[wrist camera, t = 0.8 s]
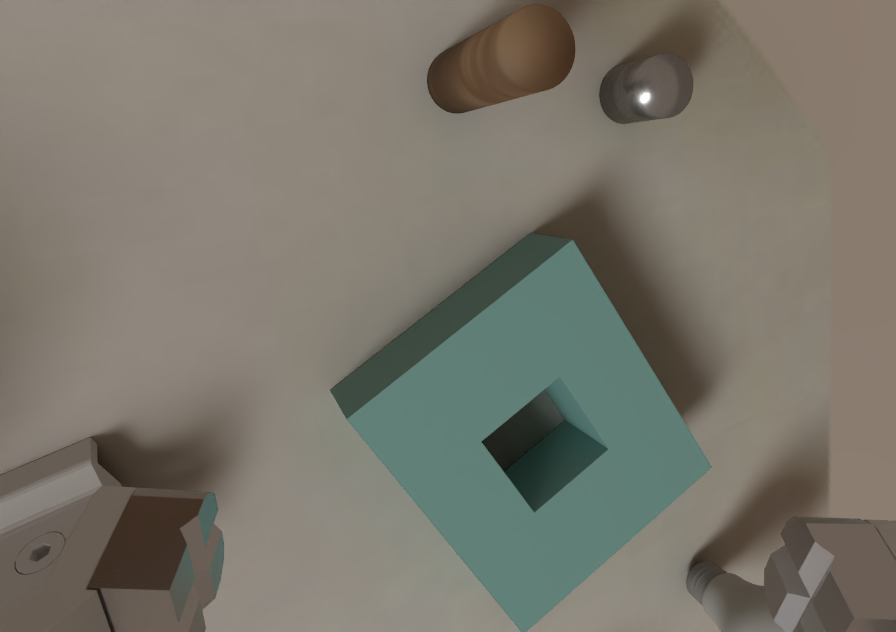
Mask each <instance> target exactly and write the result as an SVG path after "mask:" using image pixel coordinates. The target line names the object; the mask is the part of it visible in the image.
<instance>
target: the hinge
mask: <svg viewBox="0 0 896 632" xmlns="http://www.w3.org/2000/svg"><path fill="white" fill-rule="evenodd" d="M101 486H118V487H121V486H122V484H121V483H119V482H118V481H117V480H116V479H115V478H114V477H113V476H112V475H111V474H109V473H108V472H107V471H106V470H105V469H104V468H103V467H102V466H101V465H99V464H98V462H97V444H96V443H95V441H94V440H93V439H92V438H91V437H90V438H88V439H85V440H83V441H80V442H78V443H76V444H73V445H71V446H69V447H66V448H64V449H61V450H59V451H57V452H54V453H52V454H50V455H47V456H45V457H43V458H40V459H38V460H35V461H33V462H31V463H28V464H26V465H24V466H21V467H19V468H16V469H14V470H12V471H9V472H7V473H5V474H2V475H0V609H1V608H2V607H4V606H5V605H6V604H8V603H9V602H11V601H12V600H13V599H15V598H16V597H18V596H19V595H20V594H22V593H23V592H24V591H26V590H27V589H29V588H30V587H37V588H42V586H43V584H44V582H45V580H46V578H47V577H48V575H49V573H50V571H51V569H52V567H53V566H54V564H55V562H56V560H57V558H58V557H59V555H60V553H61V551H62V549H63V547H64V546H65V544H66V542H67V540H68V538H69V536H70V535H71V533H72V531H73V529H74V527H75V525H76V524H77V522H78V520H79V518H80V516H81V514H82V513H83V511H84V509H85V507H86V505H87V504H88V502H89V500H90V498H91V496H92V495H93V494H94V493H95V492H96V491H97V490H98V489H99V488H100V487H101Z"/></svg>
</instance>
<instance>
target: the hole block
mask: <svg viewBox="0 0 896 632" xmlns="http://www.w3.org/2000/svg"><path fill="white" fill-rule="evenodd" d="M543 390H545V391H546V393H547V394H548V395H549V397H550V398H551V400H552V401H553V403H554V404H555V406H556V407H557V409H558V410H559V412H560V413H561V414H562V416H563V417H564V419H565V421H564V422H562V423H561V424H560V425H559V426H558V427H556V428H555V429H554V430H553V431H552V432H551V433H549V434H548V435H547V436H546V437H545V438H543V439H542V440H541V441H540V442H539V443H537V444H536V445H535V446H534V447H533V448H531V449H530V450H529V451H528V452H527V453H526V454H524V455H523V456H522V457H521V458H520V459H518V460H517V461H516V462H515V463H514V464H512V465H511V466H510V467H509V468H508V469H506V470H505V471H503V470H502V469H501V467H500V466H499V465H498V463H497V462H496V461H495V459H494V458H493V457H492V455H491V454H490V453H489V451H488V450H487V449H486V447H485V446H484V445H483V443H482V441H483V440H484V439H485V438H486V437H488V436H489V435H490V434H491V433H492V432H494V431H495V430H496V429H497V428H498V427H500V426H501V425H502V424H503V423H505V422H506V421H507V420H508V419H509V418H511V417H512V416H513V415H514V414H515V413H517V412H518V411H519V410H520V409H521V408H523V407H524V406H525V405H526V404H527V403H529V402H530V401H531V400H532V399H533V398H535V397H536V396H537V395H538V394H540V393H541V392H542V391H543ZM330 391H331V393H332V394H333V396H334V398H335V400H336V401H337V403H338V405H339V407H340V408H341V410H342V412H343V414H344V415H345V417H346V419H347V420H348V421H349V423H350V424H351V425H352V426H353V428H354V429H355V430H356V431H357V432H358V434H359V435H360V436H361V437H362V438H363V440H364V441H365V442H366V443H367V445H368V446H369V447H370V448H371V449H372V451H373V452H374V453H375V454H376V456H377V457H378V458H379V459H380V460H381V462H382V463H383V464H384V465H385V466H386V468H387V469H388V470H389V471H390V473H391V474H392V475H393V476H394V477H395V479H396V480H397V481H398V482H399V484H400V485H401V486H402V487H403V488H404V490H405V491H406V492H407V493H408V494H409V496H410V497H411V498H412V499H413V501H414V502H415V503H416V504H417V505H418V507H419V508H420V509H421V510H422V512H423V513H424V514H425V515H426V516H427V518H428V519H429V520H430V521H431V523H432V524H433V525H434V526H435V527H436V529H437V530H438V531H439V532H440V533H441V535H442V536H443V537H444V538H445V540H446V541H447V542H448V543H449V544H450V546H451V547H452V548H453V549H454V551H455V552H456V553H457V554H458V555H459V557H460V558H461V559H462V560H463V561H464V563H465V564H466V565H467V566H468V568H469V569H470V570H471V571H472V572H473V574H474V575H475V576H476V577H477V579H478V580H479V581H480V582H481V583H482V585H483V586H484V587H485V588H486V590H487V591H488V592H489V593H490V594H491V596H492V597H493V598H494V599H495V600H496V602H497V603H498V604H499V605H500V607H501V608H502V609H503V610H504V611H505V613H506V614H507V615H508V616H509V618H510V619H511V620H512V621H513V622H514V624H515V625H516V626H517V627H518V628H519V630H520V631H521V632H527V631H528V630H529V629H530V628H531V627H532V626H533V625H535V624H536V623H537V622H538V621H539V620H540V619H541V618H542V617H544V616H545V615H546V614H547V613H548V612H549V611H550V610H551V609H553V608H554V607H555V606H556V605H557V604H558V603H559V602H560V601H562V600H563V599H564V598H565V597H566V596H567V595H568V594H569V593H571V592H572V591H573V590H574V589H575V588H576V587H577V586H579V585H580V584H581V583H582V582H583V581H584V580H585V579H586V578H588V577H589V576H590V575H591V574H592V573H593V572H594V571H595V570H597V569H598V568H599V567H600V566H601V565H602V564H603V563H604V562H606V561H607V560H608V559H609V558H610V557H611V556H612V555H613V554H615V553H616V552H617V551H618V550H619V549H620V548H621V547H623V546H624V545H625V544H626V543H627V542H628V541H629V540H630V539H632V538H633V537H634V536H635V535H636V534H637V533H638V532H639V531H641V530H642V529H643V528H644V527H645V526H646V525H647V524H648V523H650V522H651V521H652V520H653V519H654V518H655V517H656V516H657V515H659V514H660V513H661V512H662V511H663V510H664V509H665V508H666V507H668V506H669V505H670V504H671V503H672V502H673V501H674V500H676V499H677V498H678V497H679V496H680V495H681V494H682V493H683V492H685V491H686V490H687V489H688V488H689V487H690V486H691V485H692V484H694V483H695V482H696V481H697V480H698V479H699V478H700V477H701V476H703V475H704V474H705V473H706V472H707V471H708V470H709V469H710V468H712V466H711V465H710V463H709V462H708V460H707V458H706V457H705V455H704V453H703V452H702V450H701V448H700V447H699V445H698V444H697V442H696V440H695V439H694V437H693V435H692V434H691V432H690V430H689V429H688V427H687V426H686V424H685V422H684V421H683V419H682V417H681V416H680V414H679V412H678V411H677V409H676V408H675V406H674V404H673V403H672V401H671V399H670V398H669V396H668V395H667V393H666V391H665V390H664V388H663V386H662V385H661V383H660V381H659V380H658V378H657V377H656V375H655V373H654V372H653V370H652V368H651V367H650V365H649V363H648V362H647V360H646V359H645V357H644V355H643V354H642V352H641V350H640V349H639V347H638V345H637V344H636V342H635V341H634V339H633V337H632V336H631V334H630V332H629V331H628V329H627V327H626V326H625V324H624V323H623V321H622V319H621V318H620V316H619V314H618V313H617V311H616V310H615V308H614V306H613V305H612V303H611V301H610V300H609V298H608V296H607V295H606V293H605V292H604V290H603V288H602V287H601V285H600V283H599V282H598V280H597V278H596V277H595V275H594V274H593V272H592V270H591V269H590V267H589V265H588V264H587V262H586V260H585V259H584V257H583V256H582V254H581V252H580V251H579V249H578V247H577V246H576V244H575V242H574V241H573V240H572V239H566V238H560V237H553V236H547V235H541V234H535V233H530V234H529V235H527V236H526V237H525V238H523V239H522V240H521V241H520V242H518V243H517V244H516V245H515V246H513V247H512V248H511V249H509V250H508V251H507V252H506V253H504V254H503V255H502V256H501V257H499V258H498V259H497V260H495V261H494V262H493V263H492V264H490V265H489V266H488V267H487V268H485V269H484V270H483V271H481V272H480V273H479V274H478V275H476V276H475V277H474V278H472V279H471V280H470V281H469V282H467V283H466V284H465V285H464V286H462V287H461V288H460V289H458V290H457V291H456V292H455V293H453V294H452V295H451V296H450V297H448V298H447V299H446V300H444V301H443V302H442V303H441V304H439V305H438V306H437V307H436V308H434V309H433V310H432V311H430V312H429V313H428V314H427V315H425V316H424V317H423V318H421V319H420V320H419V321H418V322H416V323H415V324H414V325H413V326H411V327H410V328H409V329H407V330H406V331H405V332H404V333H402V334H401V335H400V336H399V337H397V338H396V339H395V340H393V341H392V342H391V343H390V344H388V345H387V346H386V347H385V348H383V349H382V350H381V351H379V352H378V353H377V354H376V355H374V356H373V357H372V358H370V359H369V360H368V361H367V362H365V363H364V364H363V365H362V366H360V367H359V368H358V369H356V370H355V371H354V372H353V373H351V374H350V375H349V376H348V377H346V378H345V379H344V380H342V381H341V382H340V383H339V384H337V385H336V386H335V387H334V388H332V389H331V390H330Z"/></svg>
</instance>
